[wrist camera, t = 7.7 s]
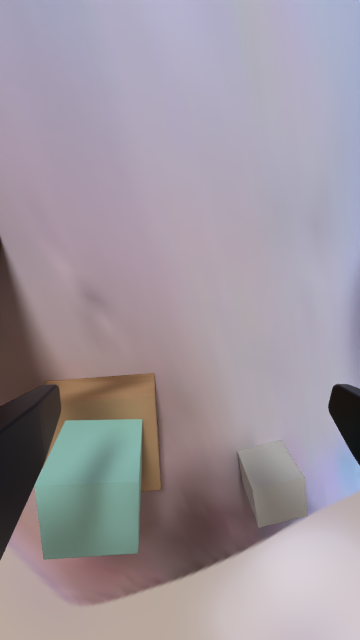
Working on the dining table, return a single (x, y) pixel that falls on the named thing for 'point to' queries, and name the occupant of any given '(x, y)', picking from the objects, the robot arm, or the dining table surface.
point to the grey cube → (272, 483)
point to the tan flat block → (116, 412)
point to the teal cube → (91, 490)
